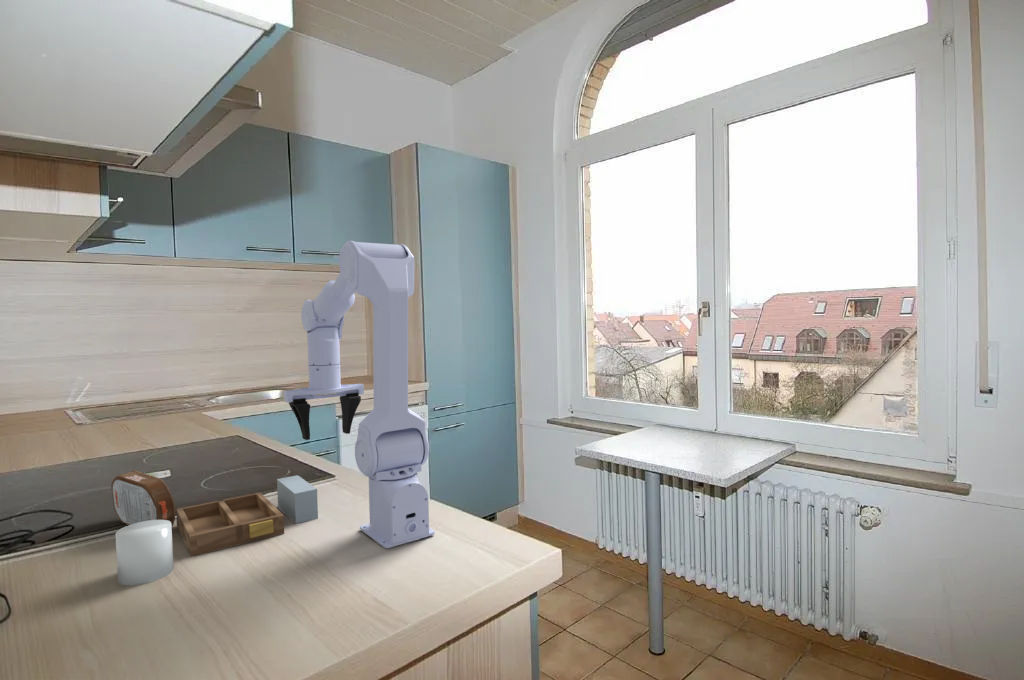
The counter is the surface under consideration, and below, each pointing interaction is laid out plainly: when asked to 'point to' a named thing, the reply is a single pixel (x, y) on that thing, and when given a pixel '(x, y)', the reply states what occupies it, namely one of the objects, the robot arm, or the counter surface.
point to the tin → (142, 498)
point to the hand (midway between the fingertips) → (326, 435)
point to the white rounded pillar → (144, 552)
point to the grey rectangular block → (297, 499)
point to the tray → (228, 523)
